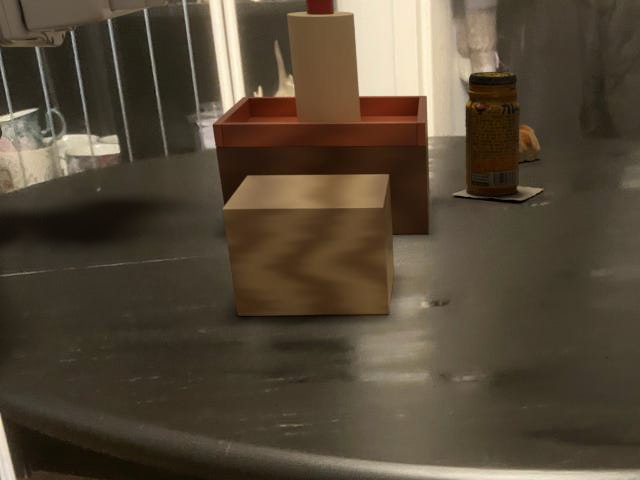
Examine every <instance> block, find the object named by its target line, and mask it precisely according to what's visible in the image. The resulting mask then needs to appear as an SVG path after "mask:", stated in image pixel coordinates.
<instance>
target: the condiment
mask: <svg viewBox="0 0 640 480" xmlns="http://www.w3.org/2000/svg"><path fill="white" fill-rule="evenodd" d="M517 82H518V78H517V75H516V74H514V73H513V72H504V71H479V72H473V73H470V74H469V77H468V93H467V94H468V96H469V97H468V101H466V104H465V105H464V106H465V107H464V108H465V109H464V110H465V113H464V114H465V119H464V121H465V125H464V126H465V141H464V142H465V165H464V166H465V184H466V187H467V188H465V189H462V190H460V191H456V192H454V193H452V196H460V197H467V198H476V199H478V198H479V199H495V200H505V201H507V200H514V201H524V200H526V199H529V198H531V197H533V196H536V195H537V194H538V193H541V191H543V190H544V188H540V187H531V186H521V185H519V181H520V180H519V176H520V175H519V170H520V168H519V166H520V165H519V163H520V162H519V126H520V119H521V118H520V117H521V116H520V113H521V112H520V111H521V108H520V103H519V101H518V89H517Z"/></svg>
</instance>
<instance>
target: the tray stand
mask: <svg viewBox="0 0 640 480" xmlns="http://www.w3.org/2000/svg"><path fill="white" fill-rule="evenodd" d="M359 101H360V117H361V122H298V120H297V110H296V100H295V96H243V97H241V98H240V99H238V101H237V102H236V103H235V104H233V106H231V107H229V109H228V110H226V111H225V112H224V113H223V114H222V115H221V116H220V117H219V118H218V119H216V121H214V122H213V123H212V131H213V138H214V145H215V146H214V147H215V152H216V159H217V164H218V172H219V179H220V185H221V186H220V187H221V194H222V200H223V207H224V206H225V205H226V203H227V202H228V201H229V199H230V198H231V197H232V195H233V194H234V193H235V191H236V190H237V189H238V187H239V186H240V185H241V184H242V182H243V181H244V180H245V178H246V177H247V176H261V175H373V174H389V177H390V196H391V216H392V235H428V234H429V233H430V202H431V201H430V200H431V199H430V198H431V197H430V196H431V192H430V188H431V187H430V161H429V160H430V158H429V123H428V121H429V120H428V96H427V95H359Z"/></svg>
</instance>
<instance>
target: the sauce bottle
mask: <svg viewBox="0 0 640 480" xmlns="http://www.w3.org/2000/svg"><path fill="white" fill-rule="evenodd" d="M305 6H306V7H305V9H306V11H296V12H289V13H287V14H286V18H287V19H286V20H287V29H288V37H289V39H288V40H289V49H290V59H291V68H292V78H293V88H294V90H293V91H294V97H295V100H296V110H297V120H298V122H361V117H360V101H359V96H360V89H359V88H360V87H359V75H358V74H359V72H358V58H357V57H358V56H357V42H356V41H357V40H356V27H355V26H356V25H355V14H354V13H353V12H350V11H335V8H334V0H305Z"/></svg>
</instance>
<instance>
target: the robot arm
mask: <svg viewBox="0 0 640 480" xmlns="http://www.w3.org/2000/svg"><path fill="white" fill-rule="evenodd" d="M169 2H170V0H0V46H1V47H5V48H58V47H60V46H62V45H63V43H64V41H65V37H66V33H67V32H75V31H76V29H77V27H82V26H89V25H94V24H99V23H101V22H104V21H108V20H111V19H114V18H119V17H121V16H122V17H123V16H126V15H129V14H133V13H136V12H140V11H143V10H146V9H150V8H151V9H152V8H163V7H165V6H167V5H168V4H169ZM2 137H3V130H2V127H1V126H0V140H1V139H2Z"/></svg>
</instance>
